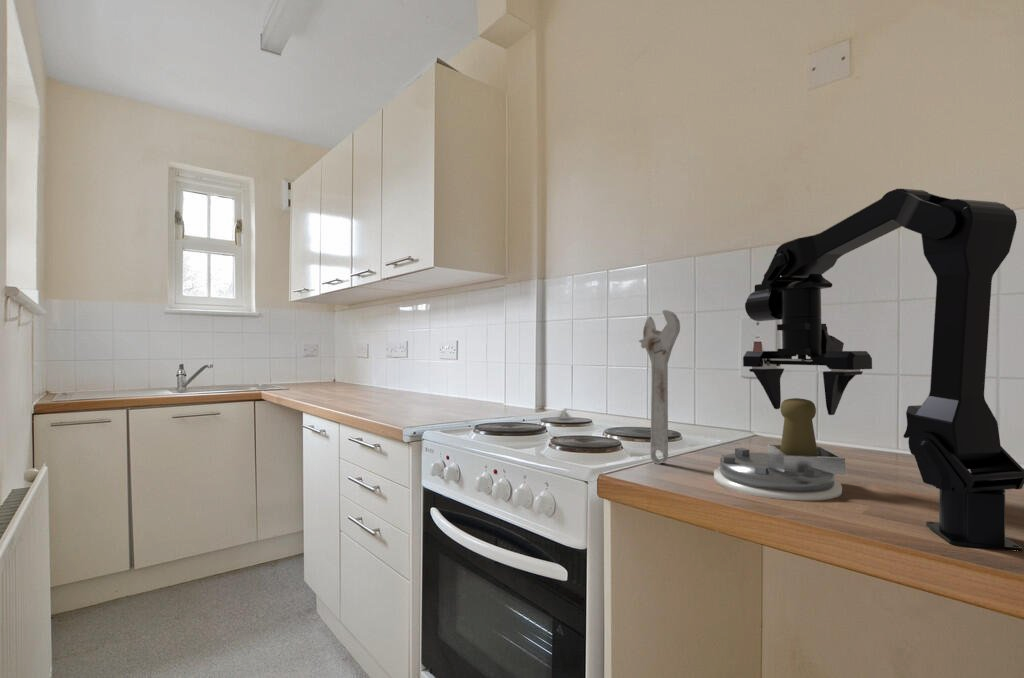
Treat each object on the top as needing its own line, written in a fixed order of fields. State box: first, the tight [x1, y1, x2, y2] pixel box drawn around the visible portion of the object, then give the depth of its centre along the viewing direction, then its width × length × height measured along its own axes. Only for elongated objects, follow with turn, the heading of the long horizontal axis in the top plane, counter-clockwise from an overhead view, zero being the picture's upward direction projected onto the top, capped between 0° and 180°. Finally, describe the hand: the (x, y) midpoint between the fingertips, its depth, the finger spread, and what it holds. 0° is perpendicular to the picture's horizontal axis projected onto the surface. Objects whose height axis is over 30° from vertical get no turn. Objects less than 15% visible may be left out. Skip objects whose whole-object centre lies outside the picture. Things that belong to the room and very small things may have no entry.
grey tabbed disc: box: [719, 443, 846, 492], centre depth 84 cm, size 17×17×4 cm
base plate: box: [713, 466, 843, 501], centre depth 84 cm, size 19×19×1 cm
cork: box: [780, 397, 818, 456], centre depth 84 cm, size 6×6×11 cm
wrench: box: [638, 309, 681, 465], centre depth 98 cm, size 8×2×30 cm, turn 46°
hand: (802, 411), depth 83 cm, fingers open, 9 cm apart
